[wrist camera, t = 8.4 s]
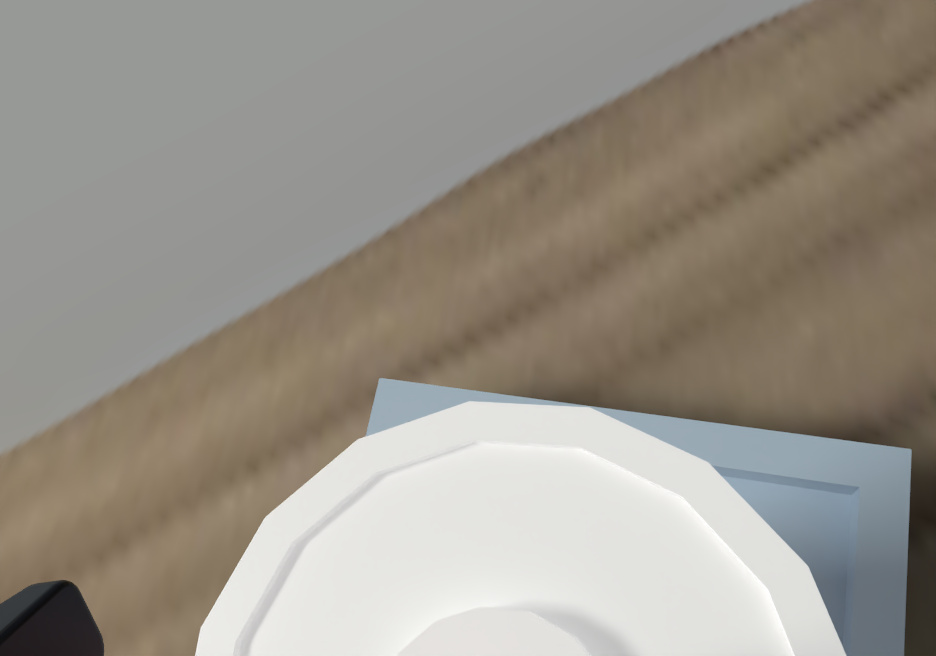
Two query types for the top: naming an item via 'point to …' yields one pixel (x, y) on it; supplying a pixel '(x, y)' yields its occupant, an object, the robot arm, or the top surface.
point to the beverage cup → (517, 550)
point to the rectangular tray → (773, 500)
